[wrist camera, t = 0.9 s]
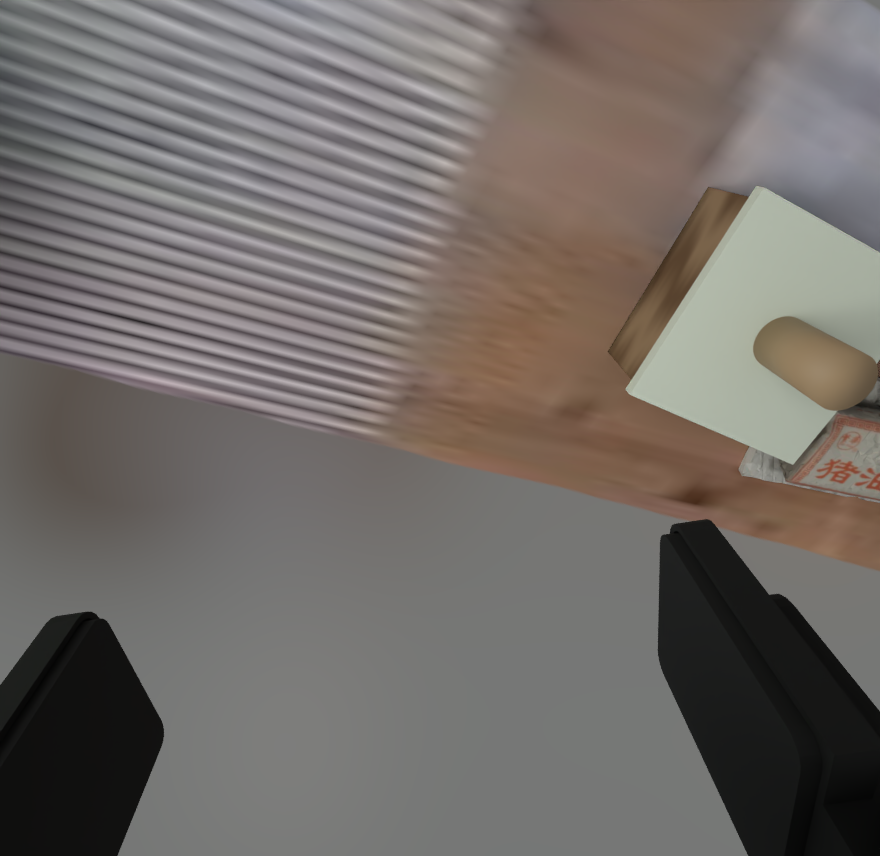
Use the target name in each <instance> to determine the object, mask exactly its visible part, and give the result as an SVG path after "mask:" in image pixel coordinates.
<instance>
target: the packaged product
mask: <svg viewBox="0 0 880 856" xmlns="http://www.w3.org/2000/svg"><path fill="white" fill-rule="evenodd" d="M738 470H739V471H740V473H741V475H742V476H749V477H754V478H759V479H761V480H765V481H771V482H777V483H784V484H789V485H794V486H798V487H803V488H807V489H812V490H817V491H822V492H827V493H832V494H836V495H841V496H846V497H859V498H860V499H862V500H868V501H873V502H878V503H880V377H878V378H877V381H876V384H875V386H874V388H873V389H872V391H871V392H870V393H869V395H868V396H867V397H866V398H865V399H863V400H862V401H861V402H860V403H858V404H856V405H855V406H853V407H850V408H848V409H844V410H839V411H837V412H836V414H835V415H834V416H833V417H832V418H831V420H830V421H829V422H828V423H827V424H826V426H825V427H824V428H823V429H822V430H821V432H820V433H819V434H818V435H817V436H816V438H815V439H814V440H813V441H812V442H811V444H810V445H809V446H808V447H807V449H806V450H805V451H804V452H803V453H802V455H801V456H800V457H799V458H798V459H797V461H796V462H795V463H794V464H793V465H792V464H790V463H788V462H785V461H783V460H781V459H778V458H776V457H774V456H771V455H769V454H767V453H764V452H762V451H760V450H757V449H755V448H753V447H749V448H748V450H747V452H746V454H745V456H744V458H743V461H742V463H741V465H740V467H739V469H738Z"/></svg>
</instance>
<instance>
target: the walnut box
mask: <svg viewBox="0 0 880 856" xmlns="http://www.w3.org/2000/svg"><path fill="white" fill-rule="evenodd" d="M748 198H749V197H747V196H743V195H739V194H735V193H730V192H726V191H722V190H718V189H714V188H709V187H708V188H707V190H706V192H705V193H704V195H703V196H702V198H701V200H700V201H699V203H698V205H697V206H696V208H695V210H694V211H693V213H692V215H691V216H690V218H689V219H688V221H687V223H686V224H685V226H684V228H683V229H682V231H681V233H680V234H679V236H678V238H677V239H676V241H675V242H674V244H673V246H672V247H671V249H670V251H669V252H668V254H667V256H666V257H665V259H664V260H663V262H662V264H661V265H660V267H659V269H658V270H657V272H656V274H655V275H654V277H653V279H652V280H651V282H650V283H649V285H648V287H647V288H646V290H645V292H644V293H643V295H642V297H641V298H640V300H639V302H638V303H637V305H636V306H635V308H634V310H633V311H632V313H631V315H630V316H629V318H628V320H627V321H626V323H625V325H624V326H623V328H622V329H621V331H620V333H619V334H618V336H617V338H616V339H615V341H614V343H613V344H612V346H611V347H610V349H609V351H608V352H609V354H610V355H611V356H612V357H613V358H614V360H615V361H616V362H617V363H618V364H619V365H620V367H621V368H622V369H623V370H624V371H625V373H626V374H627V375H628V376H629V377H630V378H631V380H632V378H633V377H634V375H635V374H636V372H637V371H638V369H639V367H640V366H641V364H642V363H643V361H644V360H645V358H646V357H647V355H648V353H649V352H650V350H651V349H652V347H653V346H654V344H655V343H656V341H657V339H658V338H659V336H660V335H661V333H662V332H663V330H664V328H665V327H666V325H667V324H668V322H669V321H670V319H671V318H672V316H673V314H674V313H675V311H676V310H677V308H678V307H679V305H680V304H681V302H682V300H683V299H684V297H685V296H686V294H687V293H688V291H689V290H690V288H691V286H692V285H693V283H694V282H695V280H696V279H697V277H698V276H699V274H700V272H701V271H702V269H703V268H704V266H705V265H706V263H707V262H708V260H709V258H710V257H711V255H712V254H713V252H714V251H715V249H716V248H717V246H718V244H719V243H720V241H721V240H722V238H723V237H724V235H725V233H726V232H727V230H728V229H729V227H730V226H731V224H732V223H733V221H734V219H735V218H736V216H737V215H738V213H739V212H740V210H741V209H742V207H743V205H744V204H745V202H746V201H747V199H748Z"/></svg>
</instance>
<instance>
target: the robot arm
mask: <svg viewBox="0 0 880 856" xmlns="http://www.w3.org/2000/svg"><path fill="white" fill-rule="evenodd" d="M658 623H659V624H658V626H659V627H658V656H659V661H660V665H661V669H662V671H663V674H664V676H665V678H666V680H667V682H668V685H669V687H670V689H671V691H672V693H673V695H674V698H675V700H676V702H677V704H678V706H679V708H680V710H681V713H682V715H683V717H684V719H685V721H686V723H687V725H688V728H689V730H690V732H691V734H692V736H693V738H694V740H695V742H696V745H697V747H698V749H699V751H700V753H701V755H702V758H703V760H704V762H705V764H706V766H707V768H708V771H709V773H710V775H711V777H712V779H713V781H714V783H715V785H716V788H717V789H718V792H719V794H720V796H721V798H722V800H723V803H724V804H725V807H726V809H727V811H728V813H729V815H730V818H731V820H732V822H733V824H734V826H735V828H736V831H737V833H738V835H739V837H740V839H741V841H742V843H743V846H744V848H745V850H746V852H747V854H748V856H880V711H879V710H878V709H877V707H876V706H875V705H874V704H873V703H872V701H871V700H870V699H869V698H868V696H867V695H866V694H865V693H864V691H863V690H862V689H861V688H860V686H859V685H858V684H857V683H856V682H855V680H854V679H853V678H852V677H851V675H850V674H849V673H848V672H847V670H846V669H845V668H844V667H843V665H842V664H841V663H840V662H839V661H838V659H837V658H836V657H835V656H834V654H833V653H832V652H831V651H830V649H829V648H828V647H827V646H826V644H825V643H824V642H823V641H822V640H821V638H820V637H819V636H818V635H817V633H816V632H815V631H814V630H813V628H812V627H811V626H810V625H809V624H808V622H807V621H806V620H805V619H804V617H803V616H802V615H801V614H800V612H799V611H798V610H797V609H796V607H795V606H794V605H793V604H792V603H791V602H790V601H789V600H788V599H787V598H786V597H784V596H782V595H780V594H773V595H769V594H768V593H767V592H766V590H765V589H764V588H763V586H762V585H761V584H760V583H759V581H758V580H757V579H756V577H755V576H754V575H753V574H752V572H751V571H750V570H749V568H748V567H747V566H746V565H745V563H744V562H743V561H742V559H741V558H740V557H739V556H738V554H737V553H736V552H735V550H734V549H733V548H732V546H731V545H730V544H729V543H728V541H727V540H726V539H725V537H724V536H723V535H722V534H721V532H720V531H719V530H718V528H717V527H716V526H715V524H714V523H713V522H712V521H711V520H708V519H705V520H698V521H692V522H685V523H678V524H674V525H672V527H671V529H670V534H666V535H662V536H661V540H660V575H659V622H658ZM163 737H164V728H163V724H162V721H161V719H160V717H159V715H158V714H157V712H156V710H155V708H154V707H153V704H152V702H151V700H150V699H149V697H148V695H147V693H146V691H145V690H144V688H143V686H142V685H141V682H140V680H139V678H138V677H137V675H136V673H135V671H134V669H133V667H132V665H131V664H130V662H129V660H128V658H127V656H126V654H125V653H124V651H123V649H122V647H121V645H120V643H119V642H118V640H117V638H116V636H115V634H114V632H113V631H112V629H111V627H110V625H109V623H108V622H107V621H106V620H104V619H99V617H98V616H97V615H96V614H95V613H93V612H82V613H75V614H69V615H62V616H56V617H54V618H51V619H50V620H49V621H48V622H47V623H46V624H45V626H44V627H43V628H42V630H41V631H40V633H39V634H38V635H37V637H36V638H35V639H34V640H33V642H32V643H31V645H30V646H29V647H28V649H27V650H26V651H25V653H24V654H23V655H22V657H21V658H20V659H19V661H18V662H17V663H16V665H15V666H14V667H13V669H12V670H11V672H10V673H9V674H8V676H7V677H6V678H5V680H4V681H3V682H2V684H1V685H0V856H117V855H118V853H119V850H120V848H121V845H122V843H123V840H124V838H125V835H126V833H127V830H128V828H129V826H130V823H131V820H132V818H133V816H134V813H135V811H136V808H137V806H138V803H139V801H140V798H141V796H142V793H143V791H144V788H145V786H146V783H147V781H148V779H149V776H150V774H151V771H152V768H153V766H154V764H155V761H156V759H157V756H158V753H159V751H160V748H161V746H162V743H163Z"/></svg>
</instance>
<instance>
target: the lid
mask: <svg viewBox="0 0 880 856" xmlns="http://www.w3.org/2000/svg"><path fill="white" fill-rule="evenodd" d="M879 360H880V252H878V251H876V250H874V249H873V248H871V247H869V246H867V245H866V244H864V243H862V242H860V241H858V240H857V239H855V238H853V237H851V236H850V235H848V234H846V233H844V232H842V231H841V230H839V229H837V228H835V227H834V226H832V225H830V224H828V223H826V222H825V221H823V220H821V219H819V218H818V217H816V216H814V215H812V214H810V213H809V212H807V211H805V210H803V209H802V208H800V207H798V206H796V205H794V204H793V203H791V202H789V201H787V200H786V199H784V198H782V197H780V196H778V195H777V194H775V193H773V192H771V191H769V190H768V189H766V188H764V187H759V186H756V187H755V188H754V190H753V191H752V193H751V195H750V196H749V198H748V199H747V201H746V202H745V204H744V205H743V207H742V209H741V210H740V212H739V213H738V215H737V216H736V218H735V219H734V221H733V223H732V224H731V226H730V227H729V229H728V230H727V232H726V233H725V235H724V237H723V238H722V240H721V241H720V243H719V244H718V246H717V248H716V249H715V251H714V252H713V254H712V255H711V257H710V258H709V260H708V262H707V263H706V265H705V266H704V268H703V269H702V271H701V272H700V274H699V276H698V277H697V279H696V280H695V282H694V283H693V285H692V286H691V288H690V290H689V291H688V293H687V294H686V296H685V297H684V299H683V300H682V302H681V304H680V305H679V307H678V308H677V310H676V311H675V313H674V314H673V316H672V318H671V319H670V321H669V322H668V324H667V325H666V327H665V328H664V330H663V332H662V333H661V335H660V336H659V338H658V339H657V341H656V343H655V344H654V346H653V347H652V349H651V350H650V352H649V353H648V355H647V357H646V358H645V360H644V361H643V363H642V364H641V366H640V367H639V369H638V371H637V372H636V374H635V375H634V377H633V378H632V380H631V381H630V383H629V385H628V386H627V388H626V391H627V392H628V393H629V394H630V395H632V396H634V397H636V398H639V399H641V400H643V401H646V402H648V403H650V404H653V405H655V406H657V407H660V408H662V409H664V410H667V411H669V412H671V413H674V414H676V415H678V416H681V417H683V418H685V419H688V420H690V421H692V422H695V423H697V424H699V425H702V426H704V427H706V428H709V429H711V430H713V431H715V432H718V433H720V434H722V435H725V436H727V437H729V438H732V439H734V440H736V441H739V442H741V443H743V444H746V445H748V446H750V447H753V448H755V449H757V450H760V451H762V452H764V453H767V454H769V455H771V456H774V457H776V458H778V459H781V460H783V461H785V462H788V463H790V464H792V465H793V464H794V463H795V462H796V461H797V459H798V458H799V457H800V456H801V455H802V453H803V452H804V451H805V450H806V449H807V447H808V446H809V445H810V444H811V442H812V441H813V440H814V439H815V438H816V436H817V435H818V434H819V433H820V432H821V430H822V429H823V428H824V427H825V426H826V424H827V423H828V422H829V421H830V420H831V418H832V417H833V416H834V415H835V414H836V412H837V411H839V410H844V409H848V408H850V407H853V406H855V405H856V404H858V403H860V402H861V401H862V400H863V399H865V398H866V397H867V396H868V395H869V393H870V392H871V391H872V389H873V388H874V386H875V384H876V381H877V378H878V366H877V363H878V362H879Z"/></svg>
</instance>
